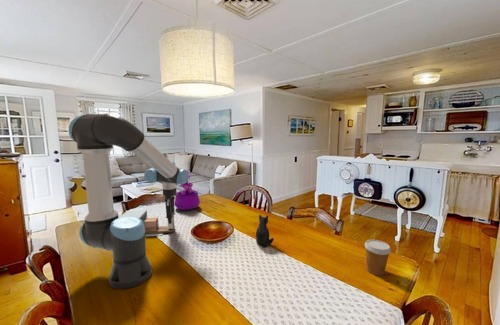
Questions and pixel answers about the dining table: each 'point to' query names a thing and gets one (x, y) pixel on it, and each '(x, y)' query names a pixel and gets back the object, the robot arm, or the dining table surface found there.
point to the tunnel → (136, 214)
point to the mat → (154, 234)
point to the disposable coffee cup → (377, 256)
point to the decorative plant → (187, 197)
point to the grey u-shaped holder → (156, 226)
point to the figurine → (263, 232)
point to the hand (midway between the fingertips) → (171, 226)
